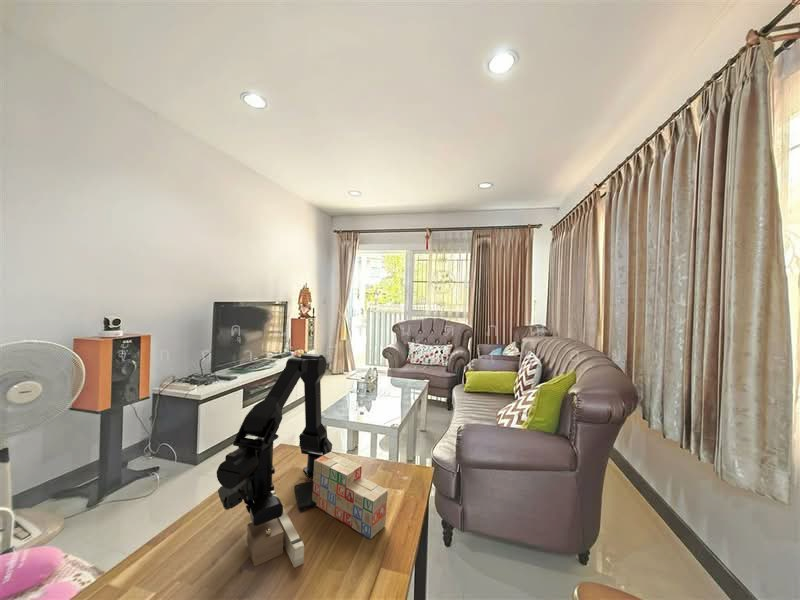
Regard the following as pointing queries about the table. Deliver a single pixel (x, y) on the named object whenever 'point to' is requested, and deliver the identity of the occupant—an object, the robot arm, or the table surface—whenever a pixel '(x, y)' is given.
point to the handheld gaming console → (304, 495)
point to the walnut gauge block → (264, 541)
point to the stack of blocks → (349, 494)
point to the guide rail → (291, 539)
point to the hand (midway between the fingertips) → (257, 527)
